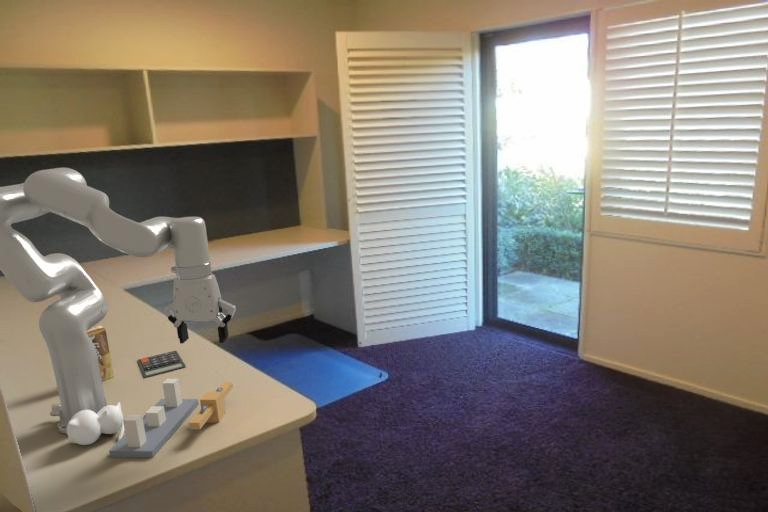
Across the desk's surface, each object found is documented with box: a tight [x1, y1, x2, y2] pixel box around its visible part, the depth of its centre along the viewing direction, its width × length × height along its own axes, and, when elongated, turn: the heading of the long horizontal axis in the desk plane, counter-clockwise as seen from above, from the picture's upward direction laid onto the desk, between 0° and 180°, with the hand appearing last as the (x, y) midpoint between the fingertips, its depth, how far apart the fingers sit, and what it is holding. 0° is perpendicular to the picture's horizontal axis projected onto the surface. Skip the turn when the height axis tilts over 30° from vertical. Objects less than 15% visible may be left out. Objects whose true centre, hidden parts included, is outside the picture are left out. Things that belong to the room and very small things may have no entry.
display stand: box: [108, 378, 200, 458], centre depth 131 cm, size 10×23×8 cm, turn 174°
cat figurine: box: [66, 401, 125, 446], centre depth 127 cm, size 9×11×12 cm
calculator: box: [136, 350, 187, 379], centre depth 169 cm, size 12×1×15 cm
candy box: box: [87, 325, 115, 382], centre depth 158 cm, size 9×4×15 cm, turn 137°
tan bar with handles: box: [188, 381, 234, 430], centre depth 135 cm, size 4×20×6 cm, turn 174°
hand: (204, 341), depth 131 cm, fingers open, 9 cm apart
